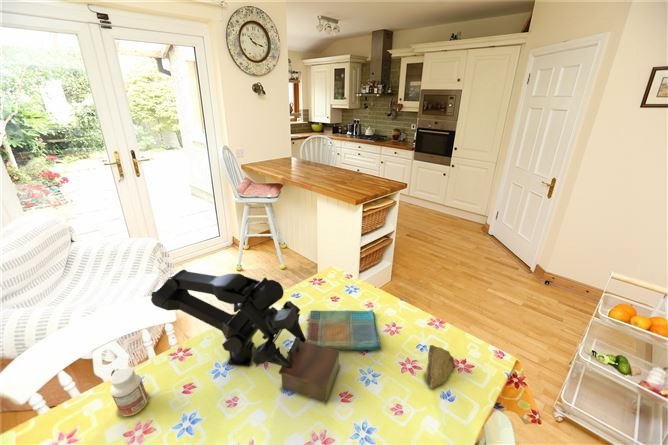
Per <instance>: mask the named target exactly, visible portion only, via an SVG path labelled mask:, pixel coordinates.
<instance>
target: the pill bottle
mask: <svg viewBox="0 0 668 445" xmlns="http://www.w3.org/2000/svg"><path fill="white" fill-rule="evenodd" d="M109 381H110V384H111V385H110V394H111V397H112V399H113V401H114V403H115V405H116V407H117V410H118V412H119V414H120V415H122V416H123V417H130V416H133V415H136V414H137V413H139V412H141V410H143V408H145V406H146V405H147V402H148V401H149V400H148V398H149V397H148V393H147V391H146V388H145V386H144V383H143V380H142V378H141V375H140V374H139V373H138V372H135V370H134V368H133V367H132V366H123V367H121V368H119V369H117V370H116V371H115V372H113V373H112V375H111V376H110V380H109Z"/></svg>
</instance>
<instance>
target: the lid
mask: <svg viewBox="0 0 668 445" xmlns="http://www.w3.org/2000/svg"><path fill="white" fill-rule="evenodd" d="M286 354H287V356H286V357H285V358H286V359H287V360H288V361H289V362H290V363H291V365H292V366H293V367H292V368H290V369H289V368H286V367H283V366H280V368H279V369H278V375H280V376H281V375H284V376H288V377H291V378H294V379H297V380H301V381H304V382H307V383H311V384H314V385H317V386H320V387H324V388H327V385H328V382H329V380H330V377H331V374H332V371H333V369H334V366H335V363H336V361H337V358H338V355H339V356H340V350H334V349H330V348H326V347H323V346H319V345H315V344H311V343H308V342H307V341H306V342H302V341H301V340H300V339H299V338H296V337H295V338H294V339H293V341H292V342H291V344H290V346H289V348H288V350H287V352H286Z"/></svg>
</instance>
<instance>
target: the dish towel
mask: <svg viewBox="0 0 668 445" xmlns="http://www.w3.org/2000/svg"><path fill="white" fill-rule="evenodd" d="M308 322H309V323H308V332H307V340H306V342H308V343H311V344H315V345H319V346H323V347H326V348H330V349H334V350H338V351H372V350H379V349H381V348H382V345H381V341H380V336H379V331H378V326H377V321H376V315H375V312H374V310H373V309H369V310H314V309H313V310H310V311H309V321H308Z"/></svg>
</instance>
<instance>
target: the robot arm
mask: <svg viewBox="0 0 668 445" xmlns="http://www.w3.org/2000/svg"><path fill="white" fill-rule="evenodd" d="M189 291H192V292H197V293H202V294H209V295H212V296H215V298H216V299H217V300H218V301H220V302H222V303H226V304H229V305H233V312H234V313H233V314H231V313H229V312H227V311H225V310H223V309H221V308H219V307H217V306H214V305H213V304H211V303H208V302H207V301H204V300H202V299H200V298H198V297H197V296H195V295H192V294H191V293H190V292H189ZM284 294H285V292H284V288H283V286H282V284H281V283H280V282H279V281H276V280H274V279H268V278H267V277H264V278H262V279H261V280H258V279H255V278H251V277H250V276H249V277H248V276H245V275H244V274H242V273H226V274H223V275H211V274H206V273H198V272H193V271H187V270H186V269H184V268H183V269H179V270H177V271H176V272H174V273H173V274H171V275H170V276H169V277H168V278H167V279H166V281H165V282H164V283H163V284H162V285H160V286H159V287H157V288H156V289H155V290H153V291H152V292H151V295H150V296H151V298H150V300H151V303H152V305H154V306H155V307H156V308H160V309H163V310H165V311H181V312H183V313H185V314H187V315H189V316H191V317H192V318H195V319H197V320H199V321H201V322H203V323H205V324H207V325H210V326H211V327H212V328H215V329H217V330H219V331H220V332H222V334H223V337H224V339H225V341H223V343H222V344H221V345H222V347H223V349H224V351H227V352H228V354H229V359H228V362H227V364H228V365H232V366H233V365H234V366H244V367H246V366H247V367H250V365H251V363H253V364H255V365H256V367H258V366H260V365H264V364H266V363H269V364H274V365H277V366H280V367H282V366H283V367H286V368H289V369H290V368H292V367H293V366H292V365H291V363H290V362H289V361H288V360H287V359H286V358H287V357H285V356H284V355H283V353H282V352H281V349H280V348H281V347H280V346H278V347H277V344H276V341H277V340H278V338H279V336H280V334H282V331H283V330H286V331H287V332H289V333H290V334H291V335H293V337H295V338H299V339H300V340H301V341H302V342H307V339H306V336H305V334H304V331H303V330H302V327H301V325H300V321H299V320H300V316H301V313H300V312H301V309H300V308H299V307H298V305H295V304H294V303H293V302H292V301H291V300H286V301H285V302H284V304H283V305H282V307H281V308H280V309H277V308H276V307H274V304H276V303H277V302H279V301H280V300H281V299H282V298H283V297H284ZM258 330H259V332H260V333H262V337H261V339H263V340H264V341H265V340H266V341H265V342H263V343H261V344H260V345H258V346H257V347H256V344H255V342H254V340H253V338H254V336H255V335H256V334H257V332H258Z"/></svg>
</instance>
